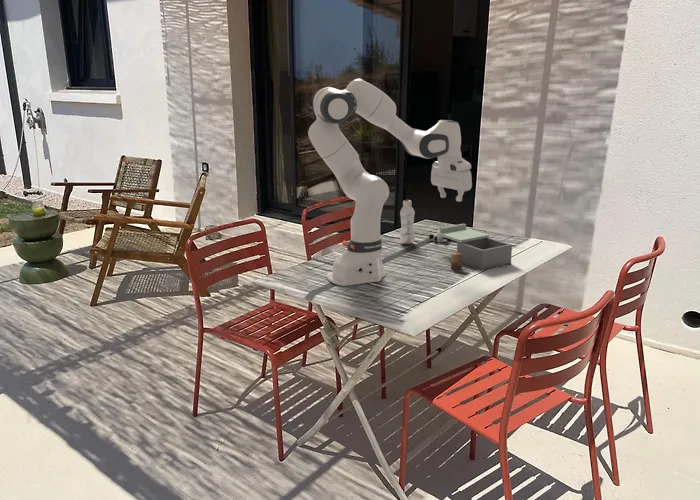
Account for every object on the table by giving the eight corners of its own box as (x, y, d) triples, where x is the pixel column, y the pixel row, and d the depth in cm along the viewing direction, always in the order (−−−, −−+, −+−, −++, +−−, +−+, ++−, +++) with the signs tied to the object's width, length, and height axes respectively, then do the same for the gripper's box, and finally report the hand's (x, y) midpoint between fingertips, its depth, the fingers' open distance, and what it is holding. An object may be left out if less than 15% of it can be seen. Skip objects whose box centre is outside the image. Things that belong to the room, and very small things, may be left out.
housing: (481, 270, 215) (482, 250, 213) (456, 261, 228) (457, 242, 225) (511, 264, 222) (512, 244, 219) (485, 255, 234) (485, 236, 232)
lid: (460, 242, 224) (460, 235, 223) (437, 235, 236) (437, 228, 235) (489, 237, 230) (489, 230, 230) (465, 230, 243) (465, 223, 242)
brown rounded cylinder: (455, 271, 216) (455, 256, 214) (448, 268, 219) (449, 253, 217) (463, 269, 217) (463, 254, 216) (456, 266, 221) (457, 252, 219)
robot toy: (446, 247, 251) (464, 238, 261) (446, 238, 250) (464, 229, 260) (424, 243, 259) (442, 234, 269) (423, 234, 258) (442, 225, 268)
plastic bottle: (397, 242, 257) (397, 200, 252) (411, 241, 259) (411, 198, 254) (403, 246, 251) (402, 202, 246) (416, 244, 253) (417, 201, 248)
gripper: (426, 162, 217) (427, 196, 222) (460, 167, 200) (462, 205, 205) (439, 159, 220) (440, 193, 224) (474, 164, 203) (475, 201, 207)
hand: (451, 199), depth 214 cm, fingers open, 8 cm apart
